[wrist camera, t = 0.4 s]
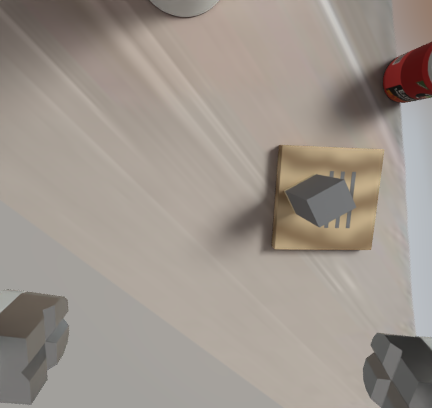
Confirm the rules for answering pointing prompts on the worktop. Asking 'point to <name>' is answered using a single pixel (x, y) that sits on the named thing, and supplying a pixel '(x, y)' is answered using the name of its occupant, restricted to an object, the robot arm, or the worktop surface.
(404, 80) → the canned food
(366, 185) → the oak board
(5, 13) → the worktop surface
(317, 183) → the block
